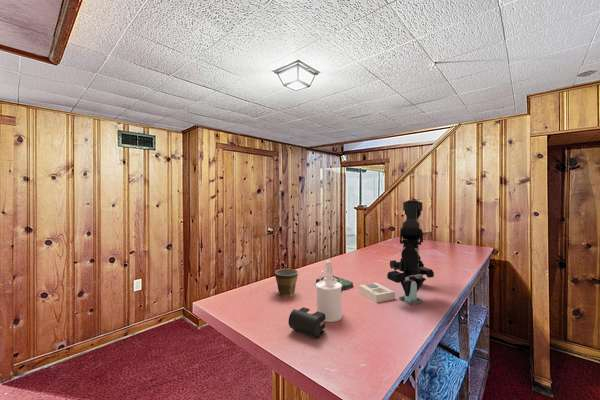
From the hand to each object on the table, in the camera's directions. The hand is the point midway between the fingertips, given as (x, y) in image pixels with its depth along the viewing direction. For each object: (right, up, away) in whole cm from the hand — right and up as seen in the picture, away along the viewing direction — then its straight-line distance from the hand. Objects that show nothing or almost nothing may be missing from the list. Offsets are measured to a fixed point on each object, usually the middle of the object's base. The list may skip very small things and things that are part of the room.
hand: (410, 295), depth 109 cm
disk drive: (-28, -3, +21) cm, 35 cm away
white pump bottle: (-33, -4, -10) cm, 35 cm away
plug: (0, -2, 0) cm, 2 cm away
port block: (-12, -3, +6) cm, 14 cm away
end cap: (-42, -4, -22) cm, 47 cm away
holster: (0, -3, 0) cm, 3 cm away
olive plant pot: (-51, -3, +11) cm, 52 cm away
